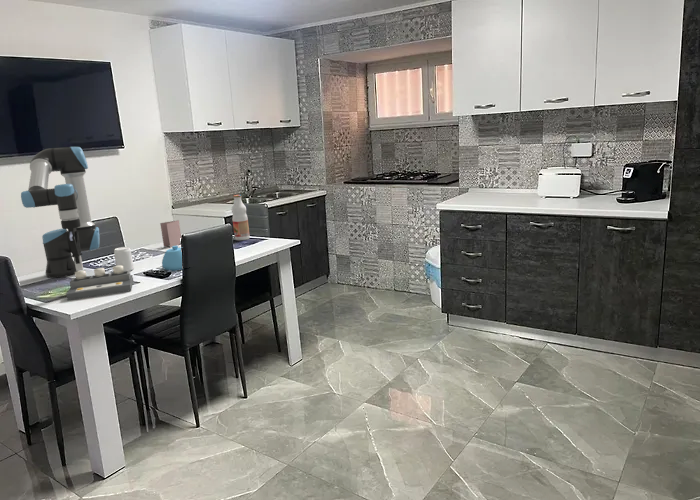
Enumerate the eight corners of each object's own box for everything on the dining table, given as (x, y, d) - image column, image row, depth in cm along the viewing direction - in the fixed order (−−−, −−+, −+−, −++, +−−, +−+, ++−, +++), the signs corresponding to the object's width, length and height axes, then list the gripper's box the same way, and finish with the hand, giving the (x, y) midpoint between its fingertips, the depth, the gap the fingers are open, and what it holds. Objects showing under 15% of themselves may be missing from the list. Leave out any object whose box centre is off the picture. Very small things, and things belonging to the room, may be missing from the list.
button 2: (114, 272, 248) (113, 266, 247) (124, 270, 249) (123, 264, 248) (113, 274, 244) (112, 268, 243) (123, 273, 245) (122, 266, 244)
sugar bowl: (198, 265, 276) (195, 244, 273) (172, 273, 265) (169, 250, 262) (183, 262, 286) (180, 241, 283) (157, 269, 275) (154, 247, 272)
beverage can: (128, 272, 271) (124, 250, 268) (114, 273, 273) (110, 250, 270) (137, 268, 279) (133, 246, 276) (123, 268, 280) (119, 246, 278)
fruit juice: (247, 240, 331) (242, 195, 324) (233, 241, 332) (227, 196, 325) (251, 237, 340) (246, 193, 333) (237, 237, 341) (232, 194, 334)
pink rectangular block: (181, 243, 336) (178, 220, 332) (185, 245, 330) (181, 221, 326) (163, 246, 329) (159, 222, 326) (166, 248, 323) (163, 224, 320)
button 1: (76, 277, 243) (75, 271, 242) (87, 276, 244) (86, 269, 244) (75, 279, 239) (74, 273, 238) (85, 278, 240) (84, 272, 240)
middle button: (95, 274, 245) (94, 268, 245) (106, 273, 247) (104, 267, 246) (94, 277, 241) (93, 270, 241) (105, 275, 243) (103, 269, 242)
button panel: (74, 289, 247) (71, 277, 246) (133, 280, 255) (131, 268, 254) (67, 300, 231) (64, 287, 229) (131, 291, 238) (128, 278, 237)
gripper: (76, 220, 230) (86, 272, 236) (81, 216, 242) (90, 265, 248) (57, 222, 228) (68, 274, 234) (63, 218, 240) (73, 267, 246)
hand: (79, 269), depth 241 cm, fingers closed
